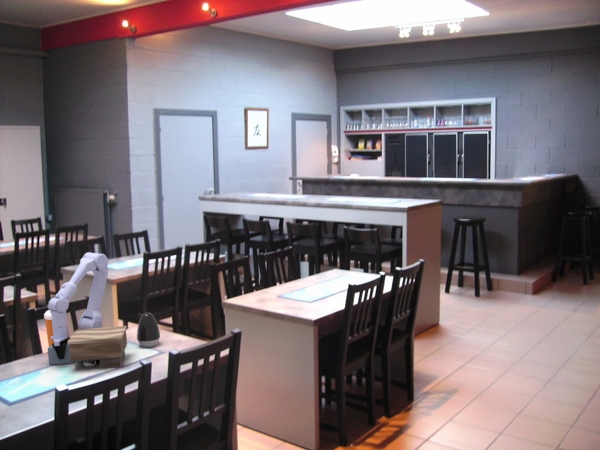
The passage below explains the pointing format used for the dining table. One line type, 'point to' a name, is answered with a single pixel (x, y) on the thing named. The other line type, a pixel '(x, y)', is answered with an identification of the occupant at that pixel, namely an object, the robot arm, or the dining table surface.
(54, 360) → the grey block with tab
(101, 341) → the cabinet
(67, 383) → the dining table surface
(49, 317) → the shaker bottle
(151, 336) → the black egg-shaped piece
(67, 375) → the dining table surface
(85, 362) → the steel token
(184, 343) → the dining table surface
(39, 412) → the dining table surface
